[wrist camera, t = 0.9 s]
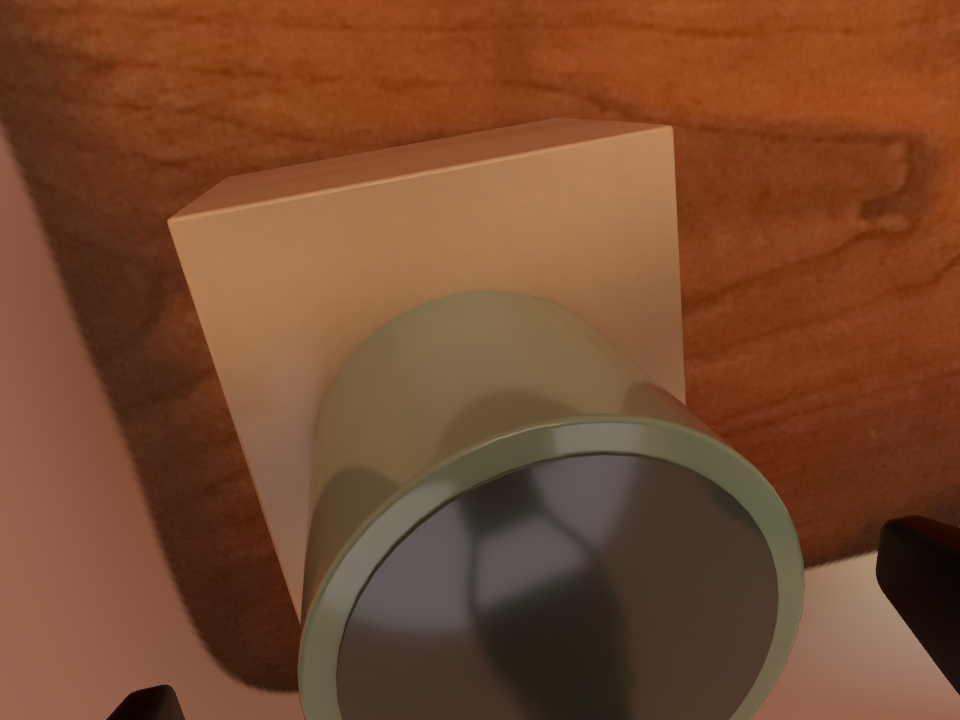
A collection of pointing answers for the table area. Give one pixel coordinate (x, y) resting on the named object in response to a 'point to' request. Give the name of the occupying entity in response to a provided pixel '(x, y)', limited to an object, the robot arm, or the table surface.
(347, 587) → the cup
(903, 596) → the robot arm
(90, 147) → the table surface
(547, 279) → the riser
